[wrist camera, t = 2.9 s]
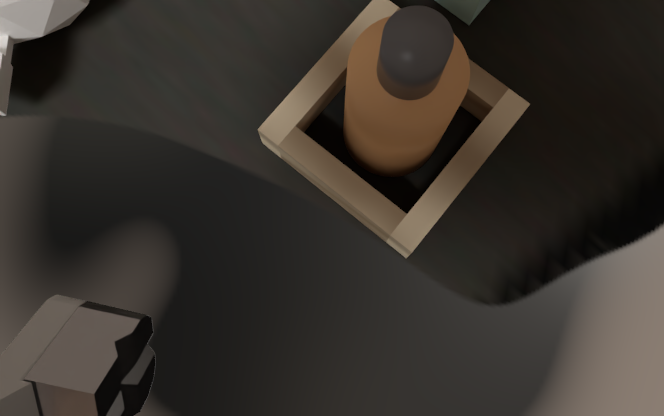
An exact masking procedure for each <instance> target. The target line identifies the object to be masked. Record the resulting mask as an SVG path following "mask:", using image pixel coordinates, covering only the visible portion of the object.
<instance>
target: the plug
mask: <svg viewBox="0 0 664 416" xmlns="http://www.w3.org/2000/svg"><path fill="white" fill-rule="evenodd" d="M469 81H470V64H469V60H468V56H467V53H466V51H465V49H464V47H463V45H462V43H461V42H460V40H459V39H458V38H457V36H456V35H455V34H454V33H453V30H452V27H451V25H450V23H449V22H448V20H447V19H446V18H445V17H444V16H443V15H442V14H441V13H439V12H438V11H436V10H434V9H432V8H429V7H426V6H419V5H416V6H408V7H405V8H402V9H400V10H398V11H396V12H395V13H394V14H393V15H392V16H389V17H385V18H383V19H381V20H378V21H377V22H375V23H373V24H372V25H370V26H369V27H368V28H366V29H365V30H364V31H363V32H362V33H361V34H360V36H359V37H358V38H357V39H356V41H355V43H354V44H353V46H352V49H351V51H350V54H349V58H348V64H347V77H346V92H345V107H344V123H343V137H344V142H345V145H346V148H347V150H348V152H349V154H350V156H351V157H352V158H353V160H354V161H355V162H356V163H357V164H358V165H359V166H360V167H362V168H363V169H365V170H366V171H368V172H370V173H372V174H375V175H378V176H383V177H400V176H404V175H408V174H410V173H412V172H414V171H416V170H418V169H419V168H420V167H422V166H423V165H424V164H425V163H426V162H427V161H428V160H429V158H430V157H431V155H432V154H433V152H434V150H435V148H436V147H437V145H438V143H439V141H440V139H441V138H442V136H443V134H444V132H445V131H446V129H447V127H448V125H449V123H450V122H451V120H452V118H453V116H454V115H455V113H456V111H457V109H458V108H459V106H460V104H461V102H462V100H463V99H464V97H465V95H466V92H467V89H468V86H469Z"/></svg>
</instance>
